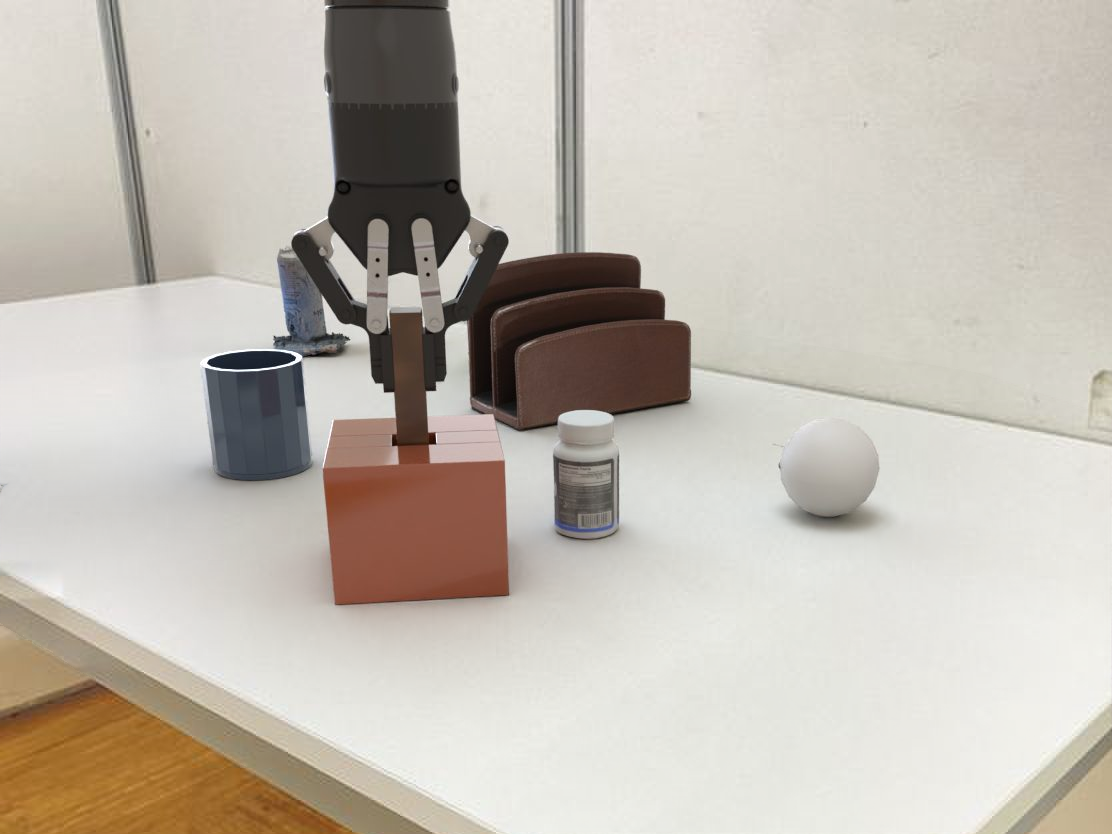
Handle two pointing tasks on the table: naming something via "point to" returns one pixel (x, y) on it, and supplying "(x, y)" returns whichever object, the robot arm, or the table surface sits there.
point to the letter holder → (573, 341)
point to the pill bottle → (586, 475)
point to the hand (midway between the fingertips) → (409, 388)
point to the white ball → (829, 467)
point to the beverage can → (303, 310)
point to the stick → (409, 376)
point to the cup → (257, 413)
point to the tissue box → (416, 511)
